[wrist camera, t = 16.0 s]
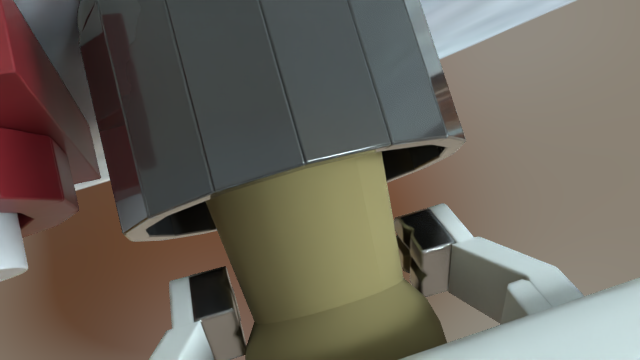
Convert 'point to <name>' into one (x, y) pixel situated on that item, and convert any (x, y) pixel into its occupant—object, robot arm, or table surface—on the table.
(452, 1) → the table surface
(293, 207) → the olive yellow knobbed peg
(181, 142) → the cup
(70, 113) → the panel
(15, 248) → the button
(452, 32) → the table surface
